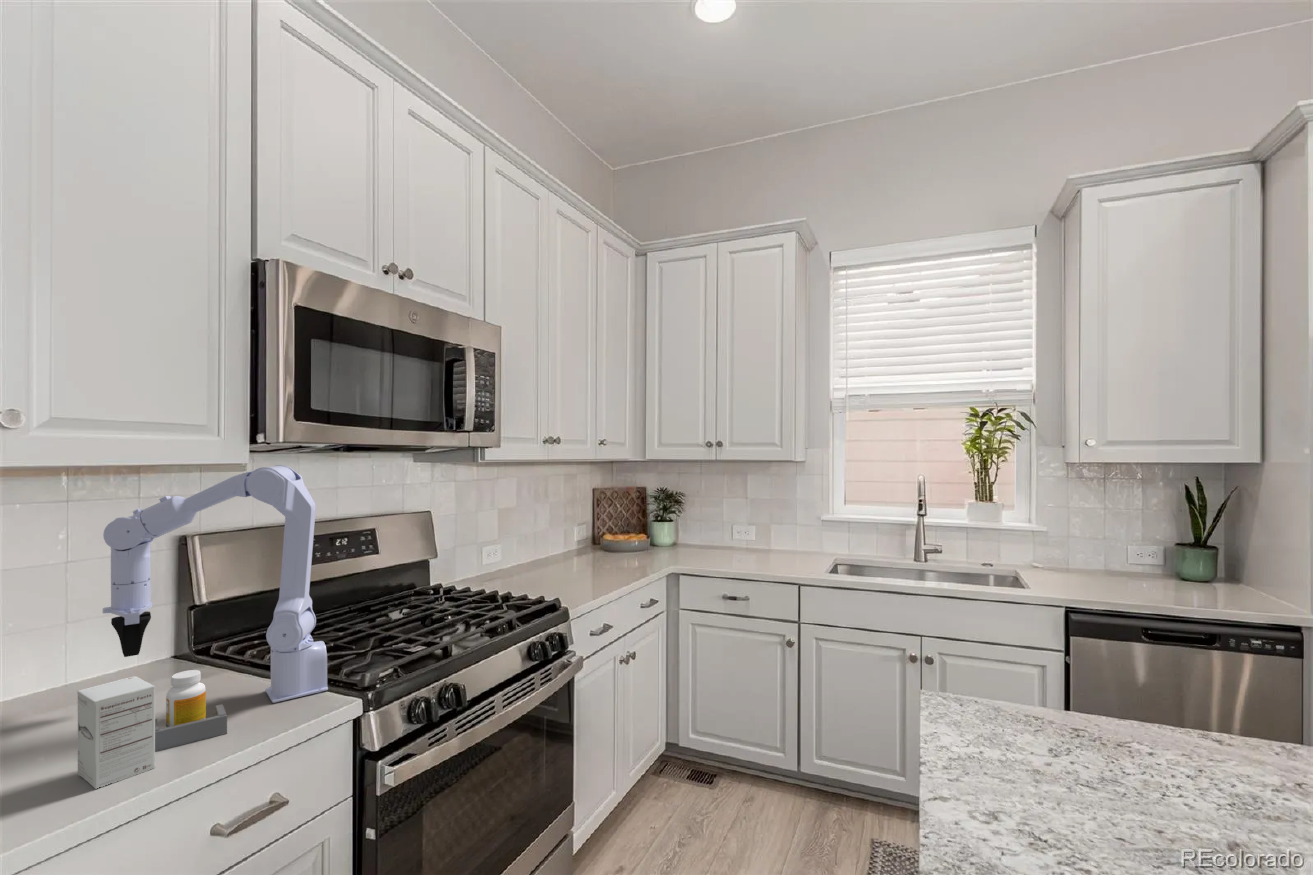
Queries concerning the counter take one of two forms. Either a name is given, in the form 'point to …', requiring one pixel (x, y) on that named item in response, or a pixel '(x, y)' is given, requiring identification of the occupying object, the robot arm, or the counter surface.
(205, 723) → the clip holder
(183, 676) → the supplement bottle
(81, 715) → the supplement box
